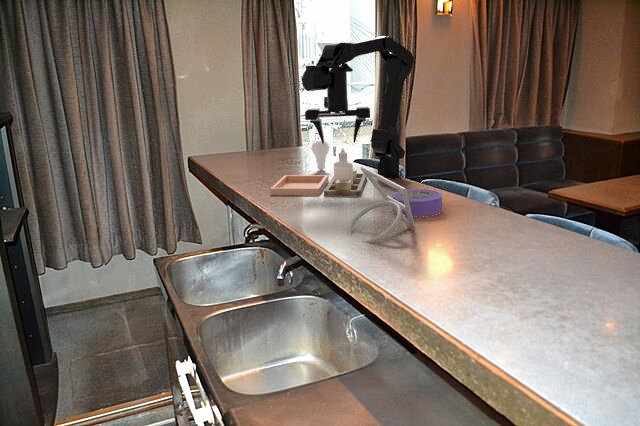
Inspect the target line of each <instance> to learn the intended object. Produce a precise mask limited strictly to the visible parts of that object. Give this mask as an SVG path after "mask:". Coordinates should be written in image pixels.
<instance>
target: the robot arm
mask: <svg viewBox="0 0 640 426" xmlns="http://www.w3.org/2000/svg"><path fill="white" fill-rule="evenodd" d="M377 52H378V53H379V57H380V58H381V60H383V62H384V63H385V72H386V75H387V79H388V80H387V85H386V90H385V97H384V103H383V107H382V115H381V119H380V123H379V126H378V127H377V128H373V129H372V131H371V138H370V145H371V149H372V150H373V153H374V156H375V158H378V159H379V161H377V174H379V175H380V176H382V177H384V178H386V179H400V177H401V174H400V160H402V159H404V158H405V154H406V151H405V149H403V147H402V146H401V145H400V143H399V142H400V135H399V132H398V129H397V123H398V118H399V112H400V107H401V101H402V96H403V95H402V94H403V89H404V86H405V85H404V83H405V81H406V79H407V78H408V77H409V75H410V74H411V72H412V69H413V66H414V61H415V56H414V55H413V53H412V51H410V50H408V49H407V48H406V47H405V46H404V45H402V44H400V43H399V42H398V41H396V40H395V39H394V38H393V37H391V36H390V35H381V36H377V37H375V38H371V39H365V40H361V41H360V40H359V41H356V42H334V43H327V44H325V45H324V46H323V49H322V53H321V55H320V57H319V59H318V61H317V63H316V65H305V70H304V72H303V74H302V78H301V84H302V86H303V88H304V90H306V91H307V92H312V91H313V92H314V91H324V90H327V91H326V93H327V96H324V97H323V107H324V109H325V110H321V109H320V108H307V109H306V110H305V111H304V117H305V119H304V120H305V121H309V123H310V124H313V125H314V127H315V129H316V131H317V133H318V136H319V139H321V141H322V144H324V140H325V136H324V131H323V124H322V123H323V122H322V118H332V117H333V118H334V117H335V118H336V117H355V121H354V129H353V144H355V143H356V141H357V137H358V133H359V129H360V128H361V126H362V123H363V122H366V121H367V120H366V119H370V118H371V109H370V107H369V106H356V109H349V100H348V80H347V77H348V76H347V73H349V72H351V73H352V72H353V71H354V70H353V68H352V67H351V66H349V65H348V63H349V62H351V61H353V60H354V59H355V58H356V57H360V56H363V55H367V54H371V53H377ZM326 109H327V110H326Z"/></svg>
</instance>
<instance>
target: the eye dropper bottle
mask: <svg viewBox="0 0 640 426" xmlns="http://www.w3.org/2000/svg"><path fill="white" fill-rule="evenodd" d="M340 150H341V151H340V152H338V161H336V162H334V164H333V176H334V185H336V181H337V180H351V185H353V169H354V167H353V166H354V165H353V163H352V162H351V161H348V153H347V152H345V148H344V147H343V148H340Z"/></svg>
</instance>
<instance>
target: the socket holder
mask: <svg viewBox="0 0 640 426" xmlns="http://www.w3.org/2000/svg"><path fill="white" fill-rule="evenodd" d="M367 179H368V178H367V177H366V175H365V174H364V173H363V172H362V173H361V172H357V178H353V185H351V189H352V190H336V185H334V175H333V176H332V177H331V180H329V183H328V184H327V186H326V187H325V188H324V190H323V197H361V196H362V192H363V190H364V188H365V186H366V182H367Z"/></svg>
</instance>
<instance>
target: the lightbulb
mask: <svg viewBox="0 0 640 426" xmlns="http://www.w3.org/2000/svg"><path fill="white" fill-rule="evenodd" d="M329 151H330V145H329V142H328V141H327V140H325V139H324V144H322V141H321V138H318V139H315V140H314V141H313V142H312V144H311V152H312V154H313V155H314V157H315V160H316V164H317V169H318V170H319V171H324V169H325V168H326V164H325V163H326V160H327V159H326V158H327V156H328V153H329Z"/></svg>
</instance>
